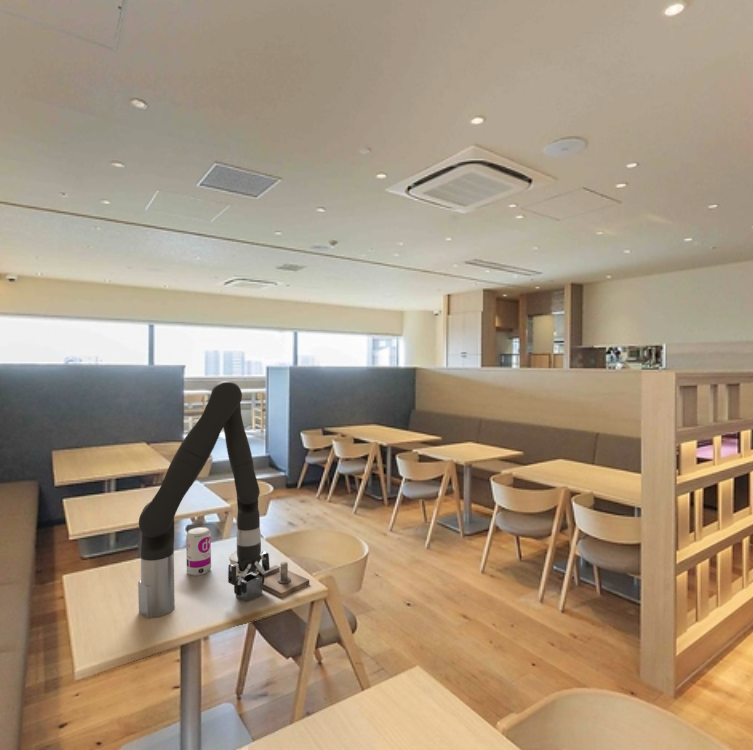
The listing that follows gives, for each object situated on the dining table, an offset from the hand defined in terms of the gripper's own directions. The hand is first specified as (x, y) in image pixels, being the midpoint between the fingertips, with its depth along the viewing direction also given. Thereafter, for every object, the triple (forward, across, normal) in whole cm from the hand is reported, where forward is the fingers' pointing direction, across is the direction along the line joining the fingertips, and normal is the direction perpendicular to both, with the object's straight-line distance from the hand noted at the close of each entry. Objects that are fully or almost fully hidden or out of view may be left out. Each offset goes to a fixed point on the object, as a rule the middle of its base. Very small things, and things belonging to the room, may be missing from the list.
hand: (249, 590), depth 155 cm
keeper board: (+2, +12, 0) cm, 12 cm away
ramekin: (+2, +11, +18) cm, 21 cm away
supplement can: (+2, -1, +29) cm, 29 cm away
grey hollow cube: (+2, 0, 0) cm, 2 cm away
